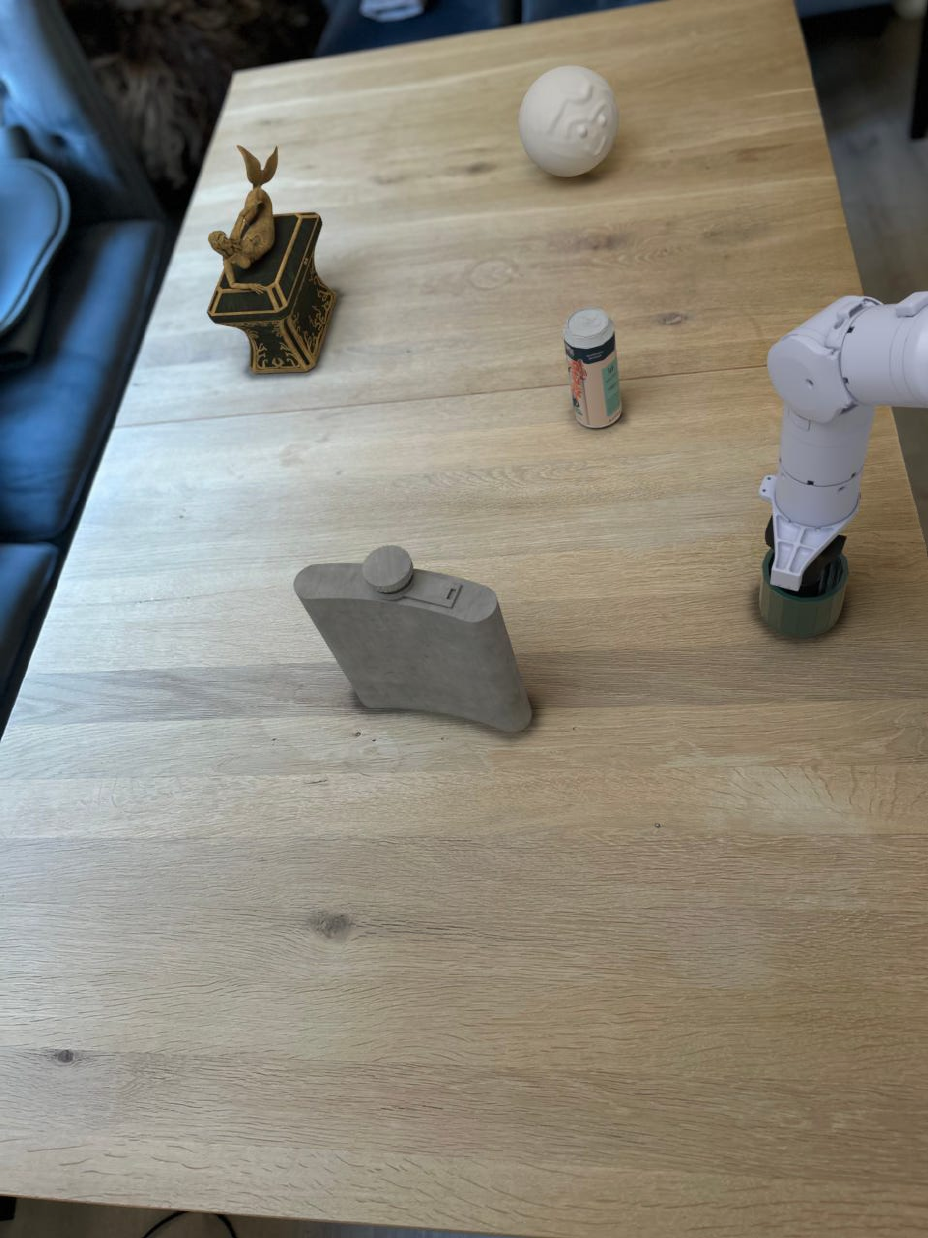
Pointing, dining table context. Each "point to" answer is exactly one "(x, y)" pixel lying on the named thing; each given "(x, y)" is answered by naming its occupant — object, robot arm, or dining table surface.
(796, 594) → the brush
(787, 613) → the pot
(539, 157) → the decorative ball
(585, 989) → the dining table surface
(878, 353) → the robot arm
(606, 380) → the beer can
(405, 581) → the hip flask
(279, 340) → the decorative box
